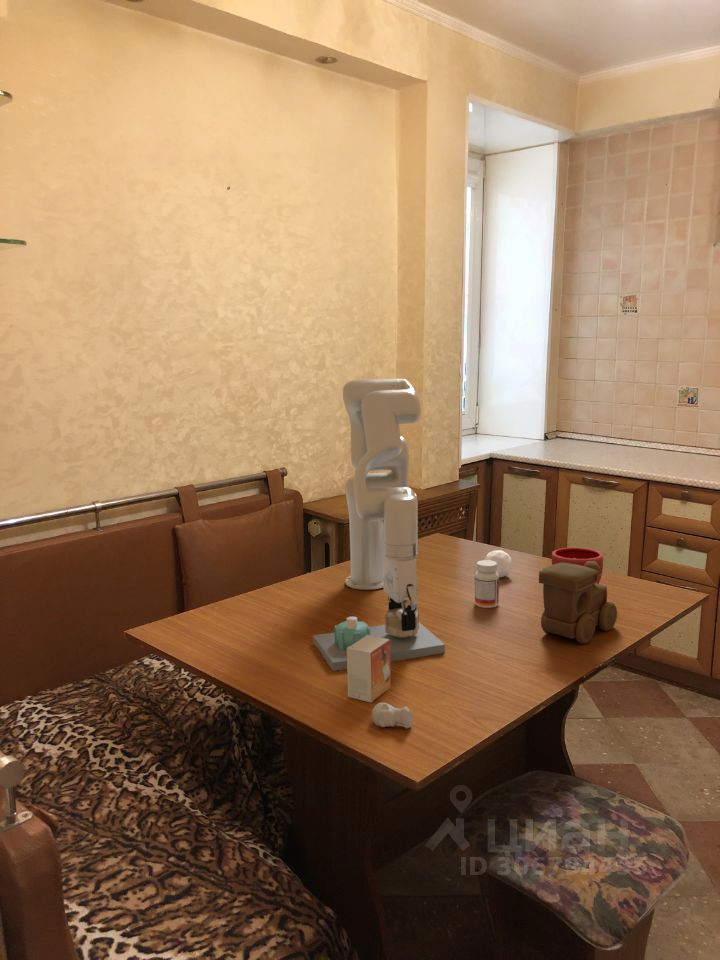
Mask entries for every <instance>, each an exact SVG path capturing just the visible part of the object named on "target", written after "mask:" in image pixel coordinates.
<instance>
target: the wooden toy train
mask: <svg viewBox="0 0 720 960" xmlns="http://www.w3.org/2000/svg"><path fill="white" fill-rule="evenodd" d="M601 571H602V572H603V570H601V568H600V567H599V565H598V564H597V562H595V561H587V562H586V563H585V565H584V566H580V565H575V564H569V563H557V564H554V565H552V564H551V565H549V566H546V567H544V568H543V569H541V570H540V571H538V583H539V584H542V585H543V586H542V588H543V589H542V590H543V591H542V596H543V598H542V599H543V608H544V610H543V612H542V614H541V617H540V626H541V628H542V631H543V632H544V633H545V634H548V635H550V634H554V635H555V634H556V635H559V636H562V637H565V638H568V639H571V640H572V639H575V640H576V641H577V642H578V643H579V644H581V645H584V644H588V643H589V642H590V641H591V640H592V638H593V636H594V633H595V631H596V626H597V625H598V627H599V628H600V630H601V631H603V632H604V631H605V632H607V631H610V630H611V629H613V627H614V626H615V625H616V622H617V618H618V608H617V606H616V604H615V603H614V602H612V601H608V589H607V588H608V587H607V586H605V585H603V584H601V583H599V584H597V582H598V577H599V575H600V573H601Z"/></svg>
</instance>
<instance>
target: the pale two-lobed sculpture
mask: <svg viewBox="0 0 720 960" xmlns="http://www.w3.org/2000/svg"><path fill="white" fill-rule="evenodd" d="M371 718H372V722H373V723H374V724H375V725H376V726H377V727H382V728H385V727H395V726H396V725H401V726H403V727H404V728H405V729H409V728H412V727H413V724H414V723H413V722H414V718H413V712H412V711H411V709H409V707H407V706H404V707H403V708H397V707H394V706H393V705H391V704H389V703H387V702H378V703H377V704H375V705H374V707H373V708H372V711H371Z"/></svg>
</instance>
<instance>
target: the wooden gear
mask: <svg viewBox="0 0 720 960" xmlns="http://www.w3.org/2000/svg"><path fill="white" fill-rule="evenodd" d="M400 609H402V608H397V609H392V610H391V609H390V610H389V609H388V610H386V613H385V615H384V625H385V632H386V633H387V634H390V635H393V636H397V637H405V636H412V635H416V634H417V632H418V629H419V622H420V621H419V620H420V615H419V614H420V613H419V611H418V610H416V629H415V630H410V631H402V626H401V617H397V610H400Z"/></svg>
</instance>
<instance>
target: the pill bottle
mask: <svg viewBox="0 0 720 960" xmlns="http://www.w3.org/2000/svg"><path fill="white" fill-rule="evenodd" d="M476 570H477V571H476V572H475V575H474V604H475V605H476V606H477V607H480V608H483V609H490V608H491V609H492V608H496V607H497V606H499V604H500V603H499V599H500V596H499V595H500V590H499V589H500V577H499V574H498V573H497V572H496V571H497V563H496V562H495V561H491V560H483V559H482V560H479V561H477V563H476Z"/></svg>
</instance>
